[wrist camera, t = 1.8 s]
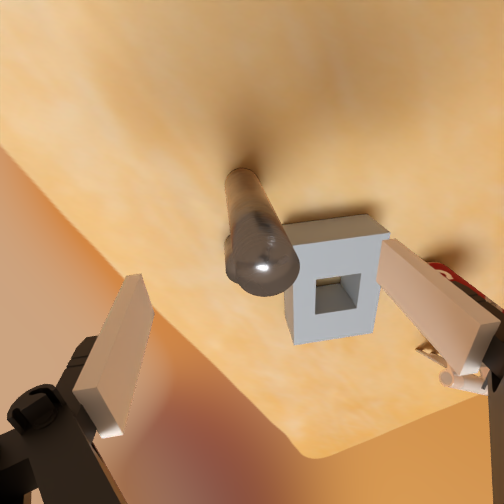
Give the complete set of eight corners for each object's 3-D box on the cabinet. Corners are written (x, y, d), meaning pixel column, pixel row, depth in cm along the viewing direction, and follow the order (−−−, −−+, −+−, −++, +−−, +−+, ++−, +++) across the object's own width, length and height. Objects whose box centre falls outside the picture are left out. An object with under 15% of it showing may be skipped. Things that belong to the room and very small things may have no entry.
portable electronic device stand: (476, 323, 45) (527, 368, 38) (443, 357, 48) (483, 404, 41) (437, 311, 43) (483, 356, 35) (404, 347, 46) (440, 395, 39)
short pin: (222, 234, 32) (223, 256, 28) (253, 229, 32) (260, 251, 28) (226, 261, 34) (228, 286, 29) (256, 257, 34) (262, 281, 30)
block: (281, 224, 32) (292, 245, 28) (367, 213, 33) (390, 232, 29) (285, 317, 39) (294, 345, 35) (355, 306, 40) (372, 332, 36)
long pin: (222, 170, 28) (231, 246, 15) (258, 166, 29) (299, 237, 15) (227, 204, 30) (239, 300, 16) (260, 200, 31) (300, 291, 17)
